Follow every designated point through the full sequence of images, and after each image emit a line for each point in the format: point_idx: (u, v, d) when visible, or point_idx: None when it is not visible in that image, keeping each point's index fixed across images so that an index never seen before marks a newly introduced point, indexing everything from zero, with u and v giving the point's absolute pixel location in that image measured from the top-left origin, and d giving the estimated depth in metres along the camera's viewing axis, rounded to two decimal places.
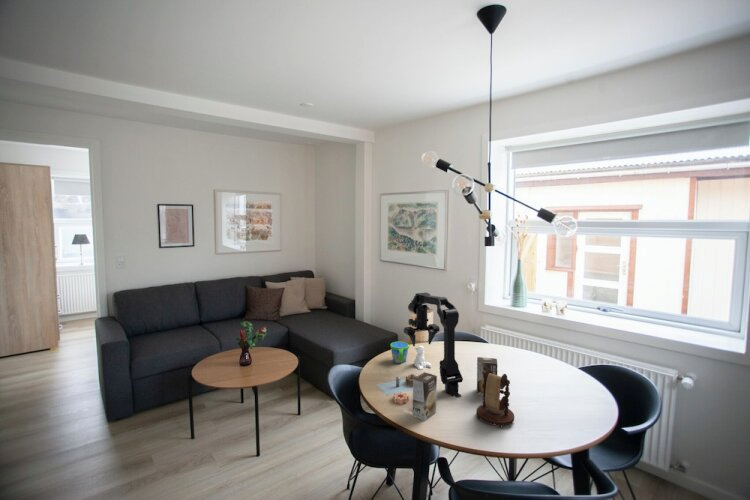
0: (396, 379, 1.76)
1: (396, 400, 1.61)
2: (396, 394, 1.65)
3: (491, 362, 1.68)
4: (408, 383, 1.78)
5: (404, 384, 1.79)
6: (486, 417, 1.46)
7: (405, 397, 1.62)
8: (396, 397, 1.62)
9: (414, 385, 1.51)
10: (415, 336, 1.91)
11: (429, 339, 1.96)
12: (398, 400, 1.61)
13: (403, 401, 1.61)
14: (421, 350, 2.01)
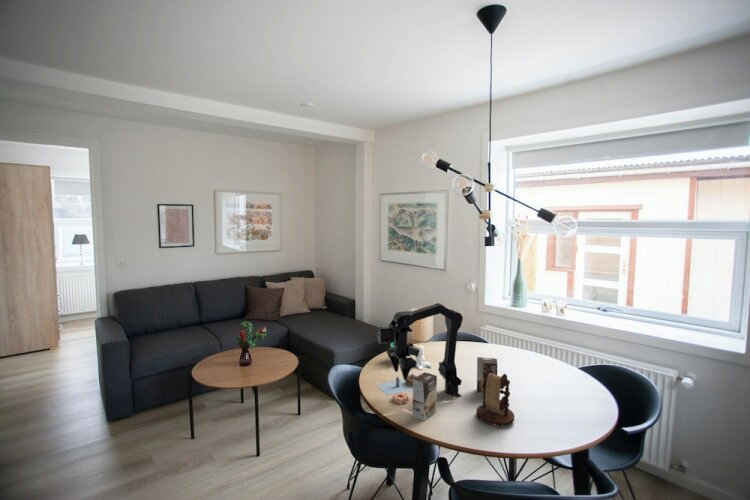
0: (396, 379, 1.76)
1: (396, 400, 1.61)
2: (396, 394, 1.65)
3: (491, 362, 1.68)
4: (408, 383, 1.78)
5: (404, 384, 1.79)
6: (486, 417, 1.46)
7: (405, 397, 1.62)
8: (396, 397, 1.62)
9: (414, 385, 1.51)
10: (390, 358, 1.67)
11: None
12: (398, 400, 1.61)
13: (403, 401, 1.61)
14: (421, 350, 2.01)
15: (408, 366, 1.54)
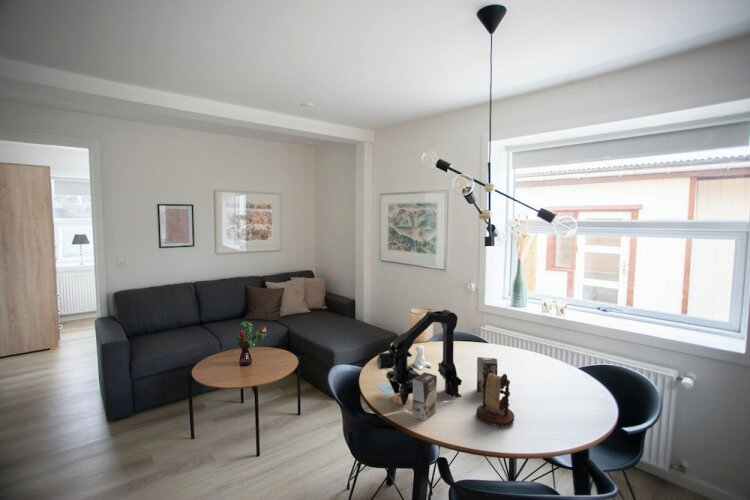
0: None
1: (396, 400, 1.61)
2: (396, 394, 1.65)
3: (491, 362, 1.68)
4: None
5: None
6: (486, 417, 1.46)
7: None
8: (396, 397, 1.62)
9: (414, 385, 1.51)
10: (391, 384, 1.66)
11: None
12: (398, 400, 1.61)
13: None
14: (421, 350, 2.01)
15: (408, 392, 1.54)
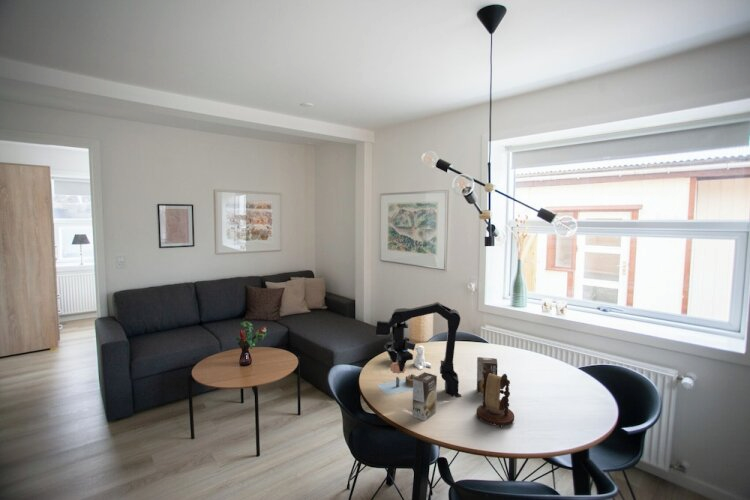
0: (396, 379, 1.76)
1: (394, 368, 1.71)
2: (393, 363, 1.75)
3: (491, 362, 1.68)
4: (408, 383, 1.78)
5: (404, 384, 1.79)
6: (486, 417, 1.46)
7: None
8: (394, 365, 1.72)
9: (414, 385, 1.51)
10: (389, 353, 1.76)
11: None
12: (395, 368, 1.71)
13: None
14: (421, 350, 2.01)
15: (405, 359, 1.64)
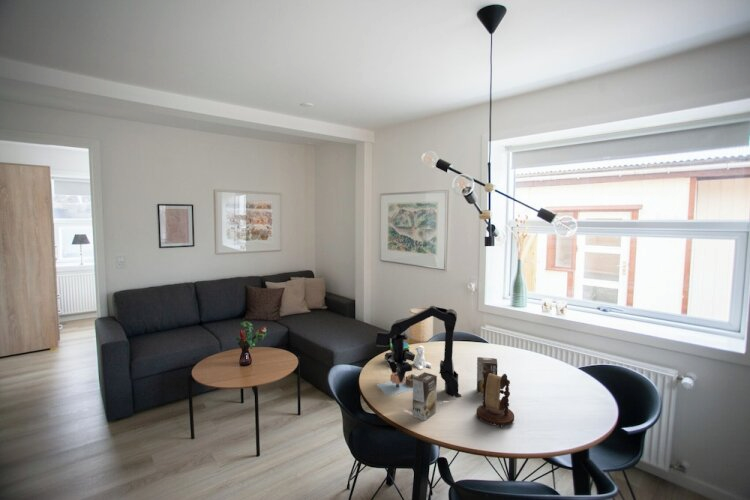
0: None
1: (393, 378, 1.74)
2: (393, 373, 1.78)
3: (491, 362, 1.68)
4: (408, 383, 1.78)
5: (404, 384, 1.79)
6: (486, 417, 1.46)
7: None
8: (393, 376, 1.75)
9: (414, 385, 1.51)
10: (389, 364, 1.79)
11: None
12: (395, 378, 1.74)
13: None
14: (421, 350, 2.01)
15: (404, 370, 1.67)
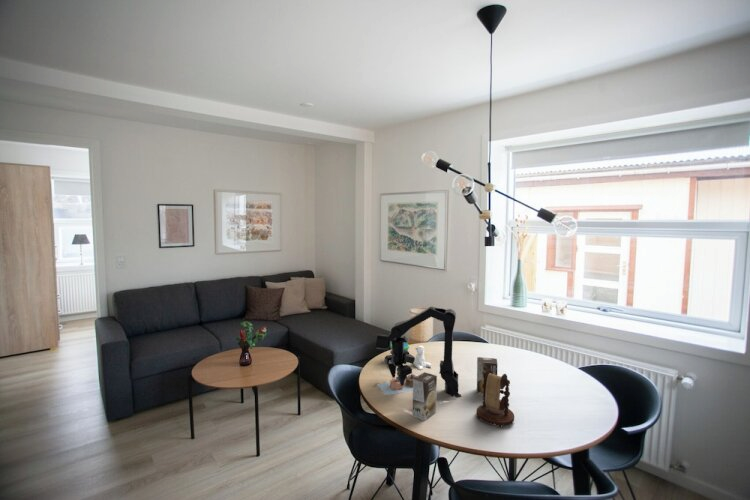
0: (396, 379, 1.76)
1: (393, 384, 1.74)
2: (393, 379, 1.78)
3: (491, 362, 1.68)
4: (408, 383, 1.78)
5: None
6: (486, 417, 1.46)
7: None
8: (393, 381, 1.75)
9: (414, 385, 1.51)
10: (388, 366, 1.80)
11: None
12: (395, 384, 1.74)
13: (399, 385, 1.74)
14: (421, 350, 2.01)
15: (404, 373, 1.67)
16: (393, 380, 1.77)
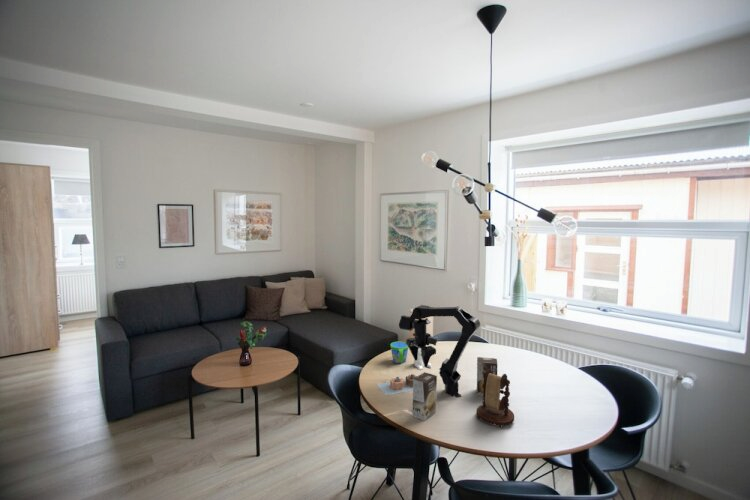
0: (396, 379, 1.76)
1: (393, 384, 1.74)
2: (393, 379, 1.78)
3: (491, 362, 1.68)
4: (408, 383, 1.78)
5: None
6: (486, 417, 1.46)
7: (401, 381, 1.75)
8: (393, 381, 1.75)
9: (414, 385, 1.51)
10: (410, 348, 1.81)
11: None
12: (395, 384, 1.74)
13: (399, 385, 1.74)
14: None
15: (429, 353, 1.69)
16: (393, 380, 1.77)
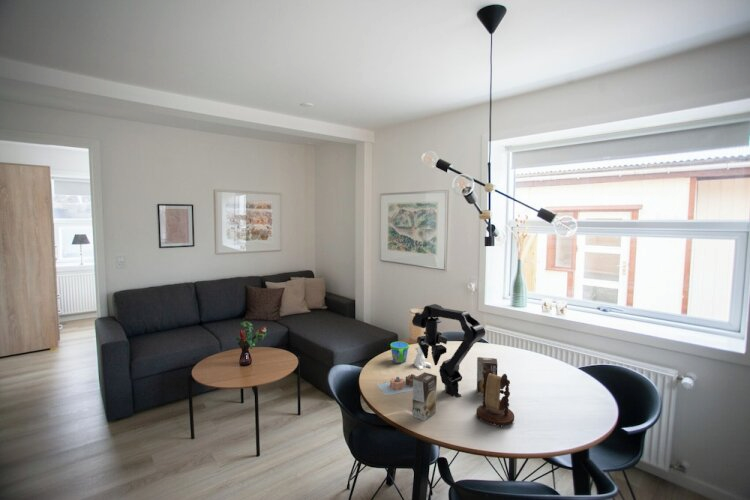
0: (396, 379, 1.76)
1: (393, 384, 1.74)
2: (393, 379, 1.78)
3: (491, 362, 1.68)
4: (408, 383, 1.78)
5: None
6: (486, 417, 1.46)
7: (401, 381, 1.75)
8: (393, 381, 1.75)
9: (414, 385, 1.51)
10: (421, 346, 1.83)
11: None
12: (395, 384, 1.74)
13: (399, 385, 1.74)
14: (421, 350, 2.01)
15: (439, 352, 1.70)
16: (393, 380, 1.77)
